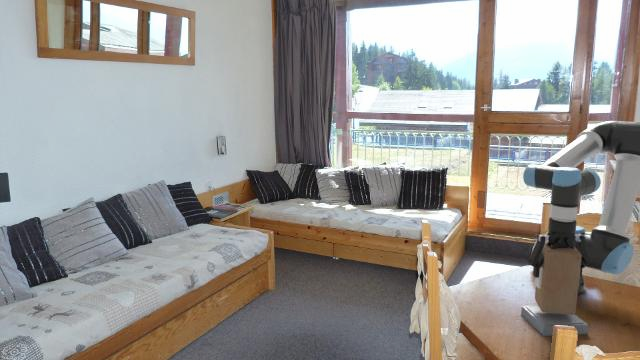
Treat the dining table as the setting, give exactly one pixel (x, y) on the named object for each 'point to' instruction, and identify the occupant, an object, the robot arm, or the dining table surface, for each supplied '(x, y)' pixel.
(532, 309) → the slate tray
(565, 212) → the robot arm
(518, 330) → the dining table surface
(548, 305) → the wooden block
